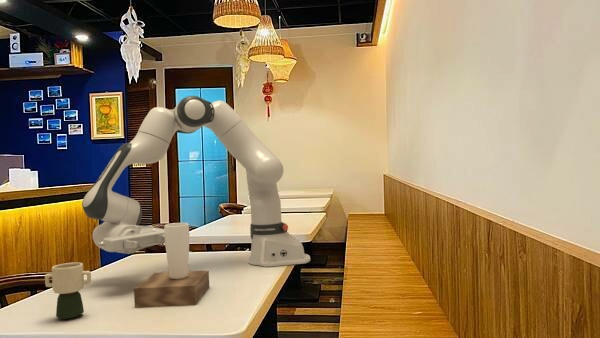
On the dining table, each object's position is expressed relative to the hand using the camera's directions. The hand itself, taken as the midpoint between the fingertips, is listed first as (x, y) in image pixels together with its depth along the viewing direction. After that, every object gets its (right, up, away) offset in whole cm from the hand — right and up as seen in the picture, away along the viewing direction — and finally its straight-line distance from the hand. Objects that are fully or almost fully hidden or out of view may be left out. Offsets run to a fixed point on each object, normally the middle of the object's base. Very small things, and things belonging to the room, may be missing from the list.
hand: (152, 242), depth 142 cm
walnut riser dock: (+8, -14, -6) cm, 17 cm away
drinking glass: (+9, -9, -5) cm, 14 cm away
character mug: (-14, -16, -21) cm, 30 cm away
